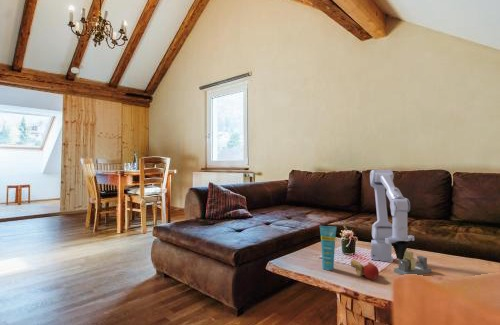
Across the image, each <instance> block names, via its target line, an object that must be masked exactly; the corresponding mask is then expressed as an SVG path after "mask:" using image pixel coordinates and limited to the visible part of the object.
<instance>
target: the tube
mask: <svg viewBox="0 0 500 325" xmlns="http://www.w3.org/2000/svg"><path fill="white" fill-rule="evenodd" d="M319 232H320V242H321V264H322V267H321V268H322V269H323V270H326V271H332V270H334V267H335V266H334V265H335V248H336V235H337V226H334V225H333V226H329V225H328V226H327V225H319Z"/></svg>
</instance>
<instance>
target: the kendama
mask: <svg viewBox="0 0 500 325" xmlns="http://www.w3.org/2000/svg"><path fill="white" fill-rule="evenodd" d="M350 265H351V267H354V268H355V271H356V273H357V275H358V276H360V277H362V276H363V275H364V277H365V278H367V279H368V280H376V279H377V278H379V275H380V270H379V268H378V267H377V266H376V265H375V264H374V263H373V262H372V261H369V262H368V263H367V264H364V265H363V264H362V263H361V262H358V261H357V260H355V259H351V261H350Z"/></svg>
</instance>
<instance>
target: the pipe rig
mask: <svg viewBox="0 0 500 325" xmlns="http://www.w3.org/2000/svg"><path fill="white" fill-rule="evenodd" d="M408 265H409V261H408V260H405V259H402V260H400V259H398V267H395V268H393V272H394V273H395V274H398V275H399V276H402V275H404V274H418V275H417V276H419V275H423V274H427V273H428V274H429V273H432V272H431V271H432V270H433V269H432V268H431V267H429V266H428V258H427V257H426V256H423V255H417V256H416V258H415V269H413V270H410V269H408Z"/></svg>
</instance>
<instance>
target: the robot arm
mask: <svg viewBox="0 0 500 325" xmlns="http://www.w3.org/2000/svg"><path fill="white" fill-rule="evenodd" d="M392 170H393V169H372V170H371V171H370V172H369V183H370V187H372V188H373V190H374V197H375V208H376V218H377V220H376V221H374V223H372V224H371V237H372V239H371V241H370V243H371V244H370V259H371V260H372V259H373V261H379V260H380V262H381V261H382V262H386V263H387V262H388V263H393V261H394V260H393V256H392V254H393V253H392V252H393V251H392V250H393V249H394V253H395V255H396V258H397V260H399V259H400V260H402V259H403V257H404V254H405V251H406V250H408V247H409V246H410V242H409V241H415V235H411V234H409V235H408V213H409V212H410V210H411V202H410V200H409V198H406V197H404V195H403V194H402V192H401V190H400V189H399V188H398V187H396V186H395V184H394V181H393V180H394V177H395V176H394V171H392ZM387 198H388V200H389V208H390V214H391V217H392V222H390V221H389V216H388V209H387V208H388V207H387Z"/></svg>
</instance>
